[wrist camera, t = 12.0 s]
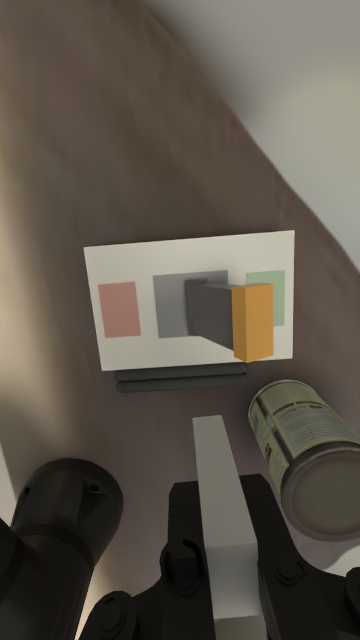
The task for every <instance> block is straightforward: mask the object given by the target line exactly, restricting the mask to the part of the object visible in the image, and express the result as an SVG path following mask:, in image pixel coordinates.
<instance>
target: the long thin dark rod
mask: <svg viewBox="0 0 360 640" xmlns="http://www.w3.org/2000/svg"><path fill="white" fill-rule="evenodd" d="M247 369H248V366H247V364H246V363H245V362H229V363H214V364H199V365H184V366H168V367H153V368H138V369H123V370H117V371H116V373H115V378H116V379H117V380H118V381H120V382H119V383H118V384H117V390H118V391H119V392H120V393H129V392H144V391H160V390H176V389H192V388H207V387H223V386H239V385H245V384H246V383H247V382H248V377H247V375H246V374H244V373H245V372H246V371H247Z"/></svg>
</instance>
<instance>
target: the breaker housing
mask: <svg viewBox="0 0 360 640" xmlns="http://www.w3.org/2000/svg"><path fill="white" fill-rule="evenodd" d="M84 254H85V261H86V267H87V274H88V281H89V287H90V294H91V301H92V307H93V314H94V321H95V327H96V334H97V341H98V347H99V354H100V361H101V367H102V371H108V370H123V369H138V368H153V367H168V366H184V365H199V364H214V363H229V362H244V361H241V360H239V359H237V358H235V357H234V351H232V350H230V349H228V348H226V347H223V346H221V345H219V344H217V343H214V342H212V341H210V340H208V339H205V338H203V337H201V336H190V335H188V325H187V312H186V298H185V284H184V281H186V280H193V279H208V283H219V284H230V285H245V284H252V283H271V284H273V356H270V357H266V358H263V359H259V360H274V359H289V358H292V346H293V284H294V230H292V231H280V232H267V233H255V234H242V235H230V236H217V237H205V238H193V239H180V240H168V241H155V242H143V243H130V244H118V245H105V246H93V247H84ZM259 360H256V361H259Z"/></svg>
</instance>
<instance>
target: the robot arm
mask: <svg viewBox="0 0 360 640" xmlns="http://www.w3.org/2000/svg"><path fill="white" fill-rule="evenodd" d="M192 419H193V429H194V440H195V451H196V461H197V472H198V481H190V482H180V483H174V485H173V487H172V489H171V491H170V493H169V514H168V518H169V519H168V542H167V544H166V545H165V547H164V548H163V550H162V552H161V556H160V560H159V561H160V567H161V574H162V576H161V577H160V579H159V580H158V581H157V582H156V583H155V584H154V585H153V586H152V587H151V588H149V589H148V590H146V591H144V592H142V593H140V594H138V595H136V596H134V597H131V595H130V594H128V593H126V592H124V591H113V592H111V593H109V594H107V595H105V596H103V597H102V598H101V599H100V600H99V601H98V602H97V603H96V604H95V606H94V607H93V609H92V611H91V613H90V614H89V616H88V619H87V621H86V623H85V625H84V628H83V630H82V632H81V635H80V637H79V639H78V640H216V634H215V625H214V619H220V618H230V617H241V616H252V615H262V611H263V615H264V619H265V623H266V631H267V640H360V567H355V568H352V569H351V570H350V571H349V572H347V574H346V577H343V576H339V575H335V574H331V573H327V572H324V571H322V570H319V569H317V568H315V567H314V566H312V565H310V564H309V563H308V562H307V561H306V560H304V559H303V557H302V556H301V555H300V554H299V552H298V551H297V549H296V547H295V545H294V543H293V540H292V538H291V535H290V533H289V530H288V528H287V526H286V523H285V521H284V518H283V516H282V513H281V511H280V509H279V507H278V504H277V501H276V499H275V497H274V494H273V492H272V489H271V487H270V484H269V483H268V482H267V481H266V479H265V478H264V477H263V476H262V475H261V474H252V475H242V476H238V472H237V469H236V465H235V462H234V458H233V455H232V451H231V448H230V444H229V440H228V437H227V433H226V430H225V426H224V423H223V419H222V416H221V415H216V416H206V417H197V418H192ZM122 511H123V497H122V493H121V491H120V488H119V486H118V485H117V483H116V482H115V480H114V479H113V478H112V477H111V476H110V475H109V474H108V473H107V472H106V471H104V470H103V469H101V468H100V467H98V466H96V465H94V464H91V463H89V462H86V461H82V460H75V459H63V460H57V461H53V462H50V463H48V464H46V465H44V466H42V467H40V468H39V469H38V470H37V471H36V472H34V474H33V475H32V476H31V477H30V479H29V480H28V482H27V483H26V485H25V486H24V488H23V489H22V491H21V493H20V495H19V498H18V501H17V505H16V508H15V512H14V515H13V518H12V522H11V526H10V527H9V526H8V525H7V524H6V523H5V522H4V521H3V520H2V519H1V518H0V640H74V639H75V636H76V632H77V628H78V625H79V621H80V617H81V614H82V610H83V607H84V603H85V599H86V596H87V592H88V588H89V585H90V581H91V577H92V574H93V571H94V567H95V566H96V564H97V562H98V561H99V559H100V557H101V556H102V554H103V553H104V551H105V549H106V548H107V546H108V544H109V543H110V541H111V539H112V538H113V536H114V535H115V533H116V531H117V529H118V526H119V523H120V519H121V515H122ZM261 607H262V609H261Z"/></svg>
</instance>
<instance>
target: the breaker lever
mask: <svg viewBox="0 0 360 640" xmlns="http://www.w3.org/2000/svg"><path fill="white" fill-rule="evenodd" d="M184 284H185V298H186V312H187V325H188V335H190V336H201V337H203V338H205V339H208V340H210V341H212V342H214V343H217V344H219V345H221V346H223V347H226V348H228V349H230V350H232V351H234V357H235V358H237V359H239V360H241V361H244V362H246V363H249V362H252V361H256V360H259V359H263V358H266V357H270V356H273V284H271V283H252V284H245V285H230V284H219V283H208V279H193V280H186V281H184Z"/></svg>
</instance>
